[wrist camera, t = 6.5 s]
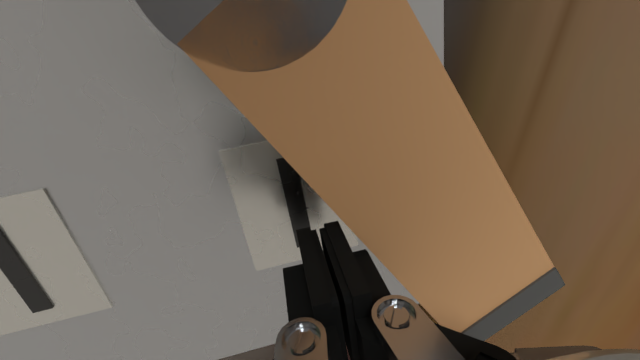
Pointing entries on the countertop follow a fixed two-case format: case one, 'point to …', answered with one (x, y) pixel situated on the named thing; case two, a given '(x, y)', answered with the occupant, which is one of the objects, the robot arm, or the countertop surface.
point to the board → (140, 194)
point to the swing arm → (376, 143)
